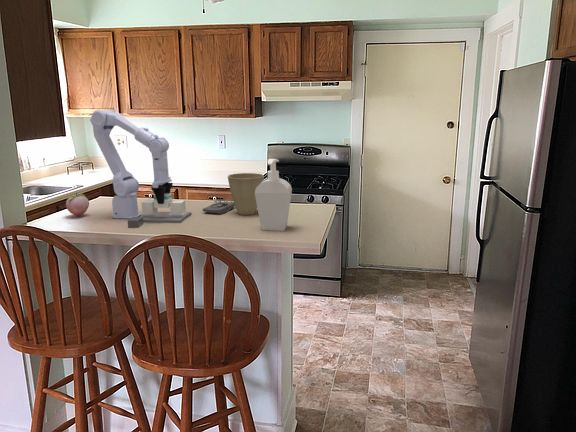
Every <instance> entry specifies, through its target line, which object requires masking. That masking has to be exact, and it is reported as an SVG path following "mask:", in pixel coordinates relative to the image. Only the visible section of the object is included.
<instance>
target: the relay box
mask: <svg viewBox="0 0 576 432" xmlns="http://www.w3.org/2000/svg"><path fill="white" fill-rule="evenodd" d="M143 224H144V222H143V217H142V216H138V217H132V218H128V220H127V228H128V229H130V228H131V229H132V228H134V229H136V228H140V227H142V225H143Z"/></svg>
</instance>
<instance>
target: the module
mask: <svg viewBox="0 0 576 432" xmlns="http://www.w3.org/2000/svg"><path fill="white" fill-rule="evenodd" d="M153 200H154V205H155V208H158V209H169V208H170V203H171V202H172V201H173V195H172V193H171V192H170V193H165V194H164V204H158V202H157V199H156V196H155V194H154V195H153Z"/></svg>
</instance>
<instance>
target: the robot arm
mask: <svg viewBox="0 0 576 432" xmlns="http://www.w3.org/2000/svg"><path fill="white" fill-rule="evenodd" d="M89 121H90V123H91V125H92V132H93V137H94V139H95V141H96V143H97V145H98V147H99V148H100V151H101V153H102V155H103V157H104V159H105V162H106V163H107V165H108V167H109V169H110V171H111V173H112V175H113V176H112V180H111V182H112V185H113V191H114V193H115V194H116V195H114V196H113V198H112V202H111V206H112V214H113V215H112V219H130V218H132V217H141V216H142V212H139V205H138V196H137V194H138V193H137V192H138V190H139V189H140V183H139V181H138V180H137V179H136V178H135V177H134V175H133V174H132V173H131V172H130V171H128V170H127V168H126V166H125V164H124V163H123V160H122V158H121V157H120V154H119V152H118V150H117V149H116V146H115V144H114V142H113V140H112V138H111V136H110V135H111V132H112V130H113V129H114V128H115V127H116V126H117V127H119V128H120V129H123V130H125V132H127V133H130V134H132V135H133V136H134V139H135V140H136V141H137V142H138V143H140V144H142V145H143V146H145V147H146V148H148V151H149V152H150V153H151V157H152V167H153V168H152V169H153V178H154V180H153V182H152V183H151V184H152V186H151V187H150V189H151V190H152V191H151V192H152V193H154V195H155V196H156V199H157V202H158V204H164V194H165V193H171V190H172V187H173V186H174V184H173V180H172V178H171V176H170V174H169V163H168V150H169V149H170V143H169V142H168V140H167V139H166V138H165V137H159V135H158V134H154V133H153V132H151V131H150V129H149V128H148V127H138V126H137V125H135V124H134V123H132V122H131V121H130V120H128V119H126V118H125V117H124V116H123V115H122V114H120V112H117V111H116V110H114V109H105V110H102V109H101V110H100V109H96V110H94V111H93V112H92V114H91V116H90V119H89Z"/></svg>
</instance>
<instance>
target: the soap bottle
mask: <svg viewBox="0 0 576 432" xmlns="http://www.w3.org/2000/svg"><path fill="white" fill-rule="evenodd" d="M279 162H280V160H279V159H278V158H268V160H267V165H268V166H269V167H270V170H268V171H267V179H265V180H263V182H262V183H261V184H259V185H258V187H257V188H256V190H255V198H256V203H257V213H258V218H259V223H260V228H261V231H278V232H279V231H280V232H281V231H283V232H284V231H285V230H286V228H287V227H288V219H289V213H290V207H291V200H292V199H291V198H292V191H293V188H292V184H290V183H289V182H288V181H287V180H285V179H283V178H281V177H280V175H279V174H280V171H279V170H277V165H276V164H277V163H279Z"/></svg>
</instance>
